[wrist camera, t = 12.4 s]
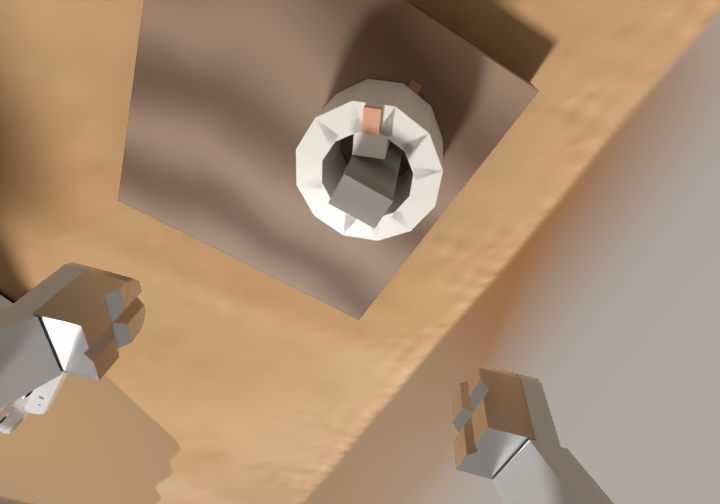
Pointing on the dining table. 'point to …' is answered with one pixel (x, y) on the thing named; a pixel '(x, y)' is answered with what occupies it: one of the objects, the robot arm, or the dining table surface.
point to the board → (298, 129)
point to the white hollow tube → (372, 154)
